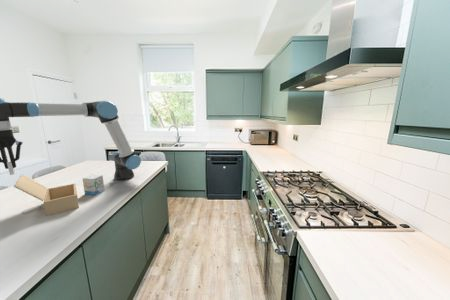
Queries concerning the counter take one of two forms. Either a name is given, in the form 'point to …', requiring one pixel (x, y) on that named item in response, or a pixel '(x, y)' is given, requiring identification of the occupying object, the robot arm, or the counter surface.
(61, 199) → the box
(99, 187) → the ink box
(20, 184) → the lid
